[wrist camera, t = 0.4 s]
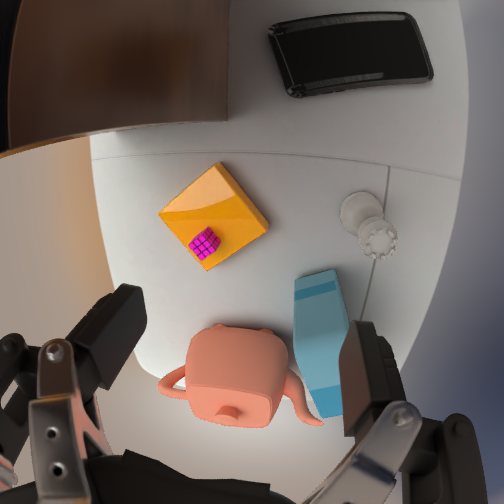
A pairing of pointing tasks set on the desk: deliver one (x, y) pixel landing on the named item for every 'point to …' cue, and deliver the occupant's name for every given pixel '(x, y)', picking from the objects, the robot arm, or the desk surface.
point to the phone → (349, 52)
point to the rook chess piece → (368, 224)
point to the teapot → (237, 378)
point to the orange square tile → (214, 217)
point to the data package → (320, 338)
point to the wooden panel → (114, 67)
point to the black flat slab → (5, 60)
